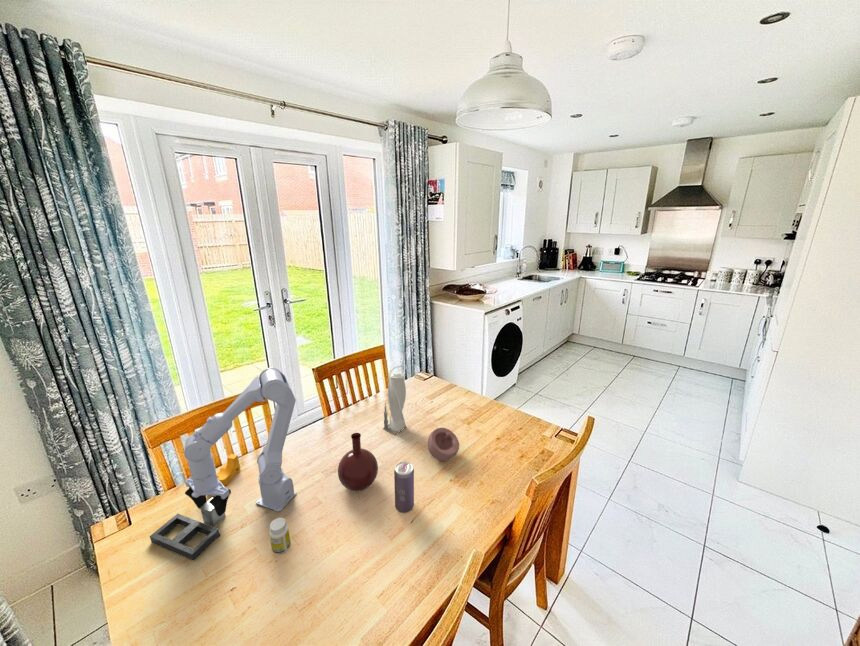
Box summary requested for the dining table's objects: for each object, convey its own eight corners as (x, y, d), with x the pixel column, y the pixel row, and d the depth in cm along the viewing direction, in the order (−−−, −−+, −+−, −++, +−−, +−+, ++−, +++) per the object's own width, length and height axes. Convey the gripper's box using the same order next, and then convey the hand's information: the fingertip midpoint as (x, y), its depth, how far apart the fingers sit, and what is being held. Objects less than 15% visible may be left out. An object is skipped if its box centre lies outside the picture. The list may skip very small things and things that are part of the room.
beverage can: (416, 501, 111) (416, 463, 106) (409, 516, 106) (409, 477, 101) (399, 496, 113) (399, 459, 108) (391, 511, 108) (390, 472, 103)
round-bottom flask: (359, 465, 126) (356, 419, 120) (386, 481, 119) (384, 433, 113) (331, 488, 116) (326, 438, 110) (358, 507, 109) (354, 455, 102)
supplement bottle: (285, 535, 99) (281, 513, 96) (294, 545, 96) (290, 522, 93) (269, 547, 95) (264, 524, 93) (277, 558, 93) (273, 534, 90)
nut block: (225, 516, 105) (222, 500, 103) (214, 527, 101) (210, 511, 99) (215, 512, 106) (212, 497, 104) (203, 523, 102) (199, 507, 101)
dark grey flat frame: (220, 535, 99) (218, 529, 98) (193, 561, 92) (192, 554, 91) (179, 519, 103) (177, 513, 103) (151, 542, 96) (149, 536, 96)
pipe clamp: (229, 468, 124) (226, 453, 122) (240, 469, 124) (237, 454, 122) (203, 493, 113) (200, 478, 111) (215, 495, 112) (212, 479, 110)
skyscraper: (396, 419, 154) (395, 362, 145) (410, 426, 149) (410, 368, 140) (383, 429, 147) (381, 369, 138) (397, 436, 143) (396, 375, 134)
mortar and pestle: (446, 473, 123) (447, 446, 120) (420, 458, 130) (421, 433, 126) (464, 455, 132) (465, 430, 129) (439, 442, 139) (439, 418, 136)
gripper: (171, 476, 97) (181, 513, 101) (210, 489, 92) (219, 528, 97) (194, 459, 103) (203, 495, 107) (232, 471, 99) (239, 508, 103)
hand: (212, 509), depth 102 cm, fingers open, 7 cm apart
